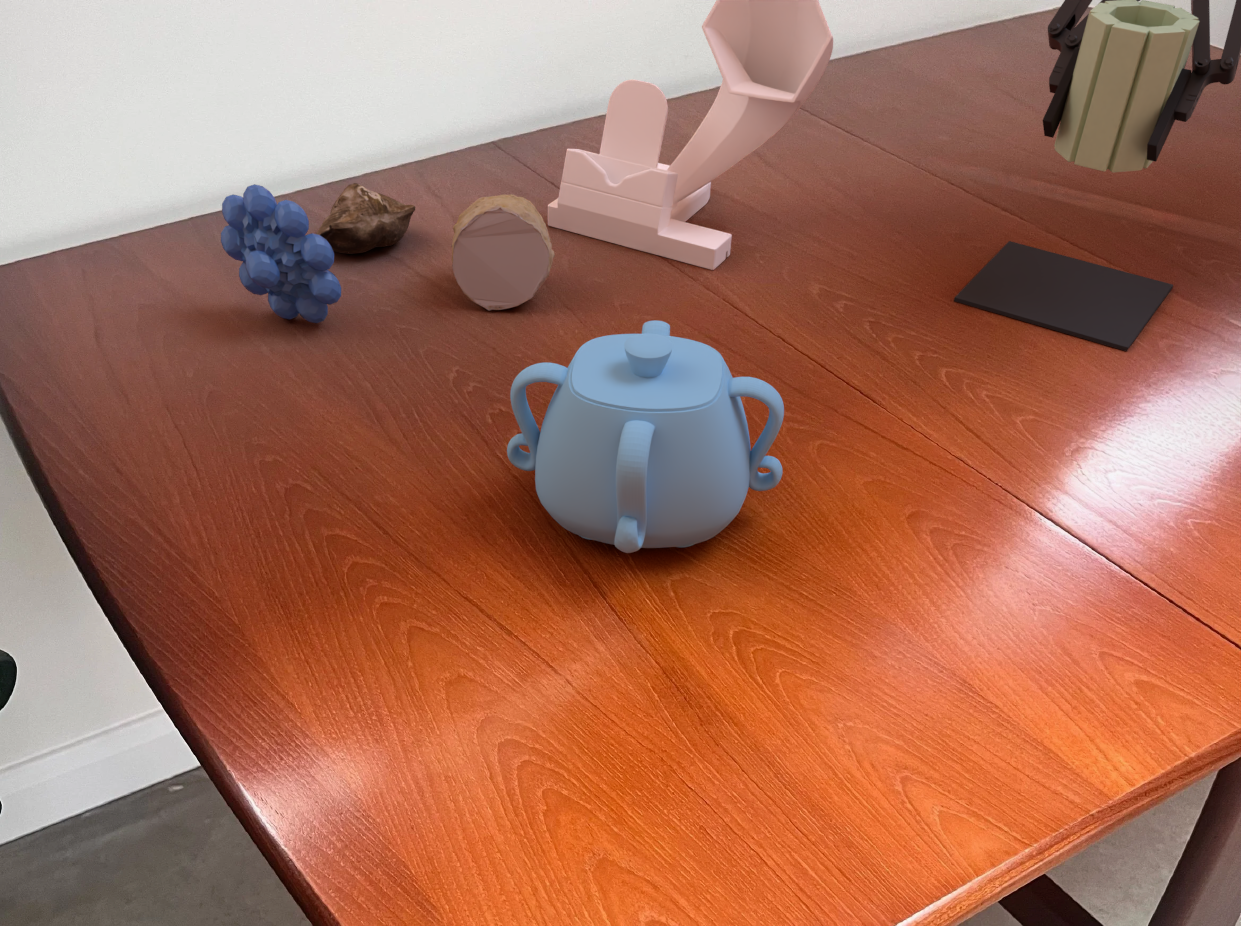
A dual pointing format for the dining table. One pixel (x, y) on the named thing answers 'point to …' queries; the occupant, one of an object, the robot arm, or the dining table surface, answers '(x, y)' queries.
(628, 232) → the phone horn amplifier
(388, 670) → the dining table surface
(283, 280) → the grapes
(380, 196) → the fossilized seashell
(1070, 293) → the mat
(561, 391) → the decorative pot
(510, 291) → the bark-rimmed wood disc
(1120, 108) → the fluted octagonal tube
